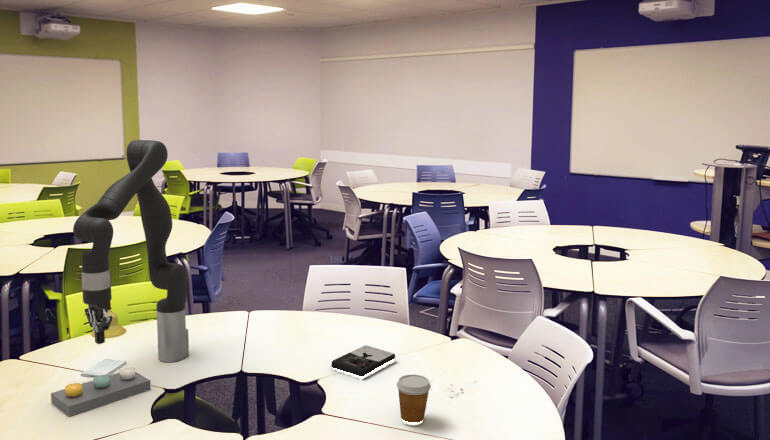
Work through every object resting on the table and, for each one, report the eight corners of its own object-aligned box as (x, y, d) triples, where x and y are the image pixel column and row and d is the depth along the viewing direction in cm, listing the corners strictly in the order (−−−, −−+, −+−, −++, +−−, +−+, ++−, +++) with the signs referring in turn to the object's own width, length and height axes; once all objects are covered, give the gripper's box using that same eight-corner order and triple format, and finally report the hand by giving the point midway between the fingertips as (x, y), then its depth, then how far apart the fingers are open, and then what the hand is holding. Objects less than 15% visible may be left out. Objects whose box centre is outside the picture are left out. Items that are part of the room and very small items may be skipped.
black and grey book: (330, 371, 209) (331, 356, 208) (365, 354, 225) (365, 340, 224) (361, 381, 202) (362, 367, 201) (395, 363, 217) (396, 349, 216)
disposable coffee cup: (427, 413, 181) (429, 373, 179) (430, 429, 172) (432, 388, 170) (394, 412, 181) (395, 373, 179) (396, 429, 171) (397, 388, 169)
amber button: (78, 388, 182) (78, 381, 182) (85, 392, 179) (85, 386, 179) (62, 392, 179) (62, 386, 178) (69, 397, 176) (69, 391, 176)
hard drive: (104, 358, 211) (80, 372, 199) (126, 360, 209) (103, 375, 197) (104, 363, 211) (80, 377, 199) (126, 365, 209) (103, 380, 197)
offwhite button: (131, 372, 194) (130, 366, 194) (138, 376, 191) (138, 370, 191) (117, 376, 191) (117, 370, 190) (124, 380, 188) (124, 374, 188)
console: (131, 377, 198) (130, 369, 198) (150, 389, 191) (150, 380, 190) (51, 402, 181) (50, 393, 180) (69, 416, 173) (68, 406, 172)
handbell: (93, 328, 241) (90, 265, 237) (127, 326, 245) (125, 264, 240) (88, 339, 230) (85, 273, 225) (124, 337, 233) (122, 272, 229)
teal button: (105, 379, 188) (105, 373, 188) (112, 384, 185) (112, 377, 185) (91, 384, 185) (90, 378, 184) (97, 388, 182) (97, 382, 182)
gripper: (120, 287, 178) (123, 345, 181) (98, 278, 187) (102, 333, 190) (94, 293, 173) (97, 352, 176) (73, 283, 181) (76, 340, 184)
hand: (100, 342), depth 183 cm, fingers closed
